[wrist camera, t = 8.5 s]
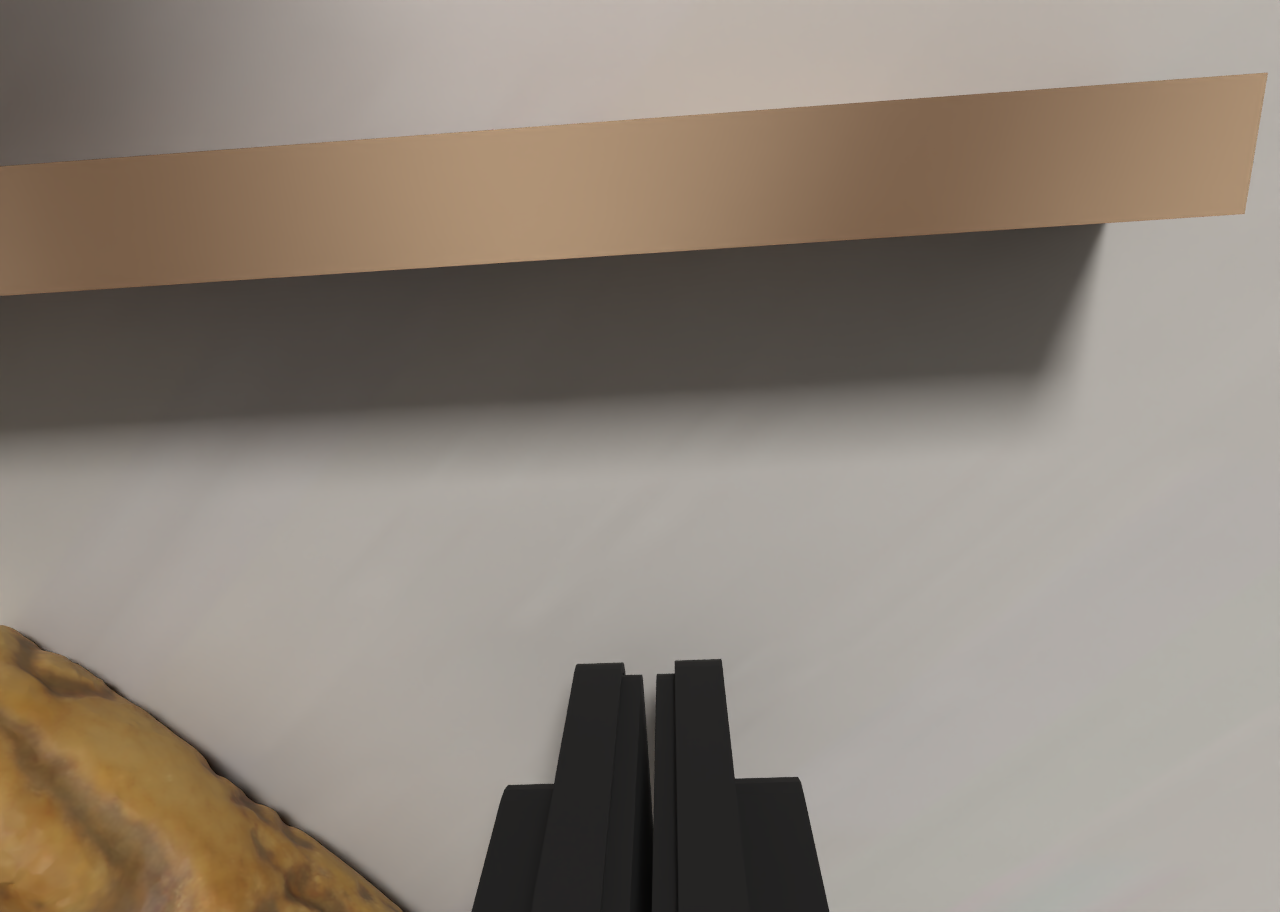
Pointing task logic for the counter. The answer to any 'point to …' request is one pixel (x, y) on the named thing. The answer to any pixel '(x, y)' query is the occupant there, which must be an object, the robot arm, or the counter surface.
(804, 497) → the counter surface
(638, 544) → the counter surface
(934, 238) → the counter surface
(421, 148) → the bay
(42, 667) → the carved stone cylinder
